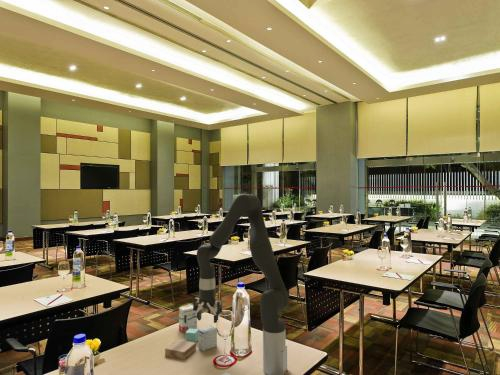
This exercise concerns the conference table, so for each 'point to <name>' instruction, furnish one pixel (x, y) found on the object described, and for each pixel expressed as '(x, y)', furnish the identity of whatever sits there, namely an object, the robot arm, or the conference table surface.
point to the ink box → (187, 318)
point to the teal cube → (191, 335)
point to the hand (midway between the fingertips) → (207, 321)
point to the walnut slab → (180, 349)
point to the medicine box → (207, 338)
